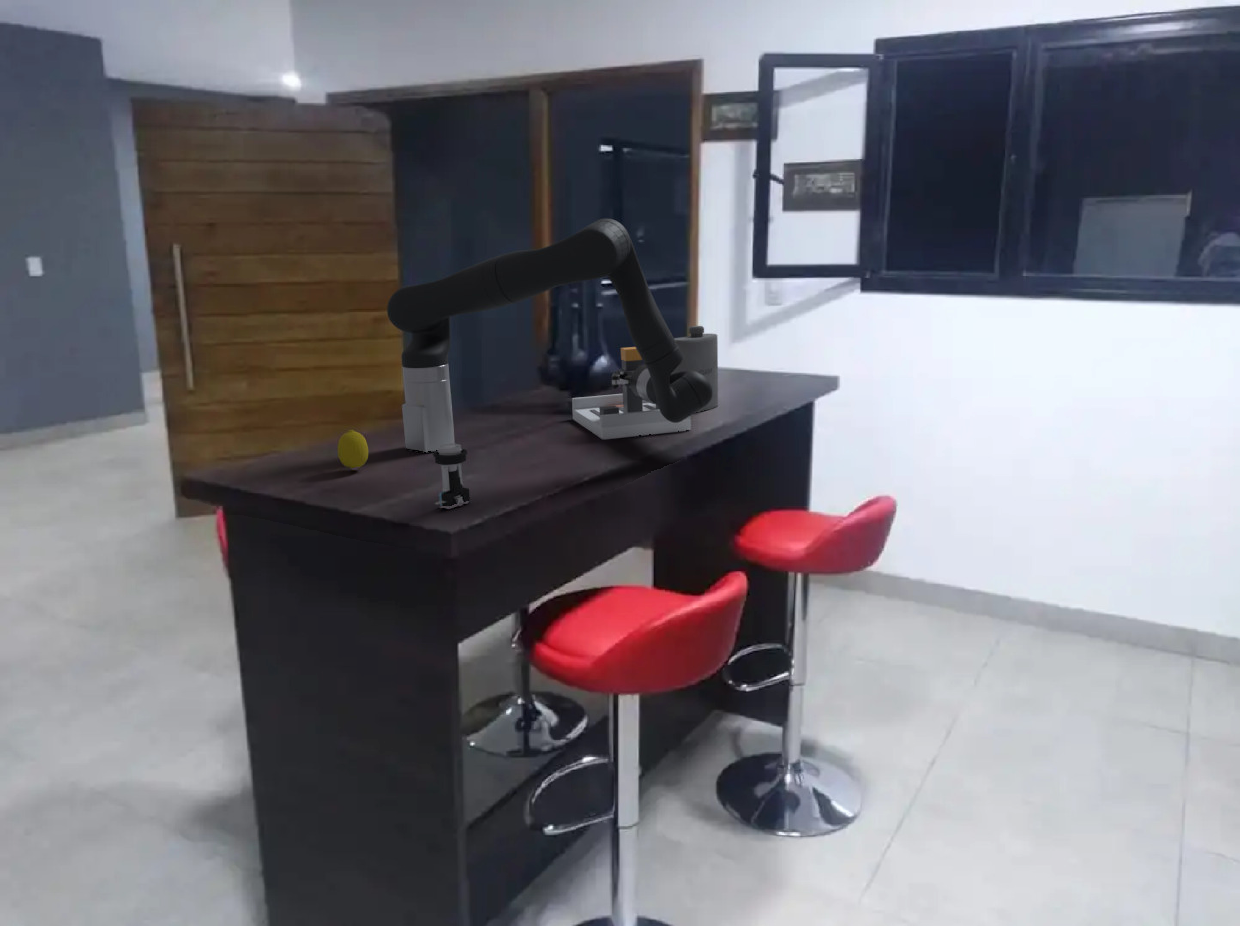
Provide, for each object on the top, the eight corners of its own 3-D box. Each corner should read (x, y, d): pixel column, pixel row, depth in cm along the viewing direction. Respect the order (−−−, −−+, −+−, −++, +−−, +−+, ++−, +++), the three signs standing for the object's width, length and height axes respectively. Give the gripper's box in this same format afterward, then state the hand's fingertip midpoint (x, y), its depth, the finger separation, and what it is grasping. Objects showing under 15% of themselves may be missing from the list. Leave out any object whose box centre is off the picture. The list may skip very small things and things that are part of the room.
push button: (448, 515, 142) (442, 453, 140) (424, 510, 145) (419, 449, 143) (478, 504, 147) (473, 444, 145) (454, 499, 150) (449, 441, 148)
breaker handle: (643, 414, 200) (641, 348, 197) (627, 415, 199) (625, 349, 196) (638, 411, 203) (636, 346, 200) (622, 413, 202) (620, 348, 199)
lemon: (345, 467, 174) (341, 427, 172) (374, 467, 174) (369, 426, 172) (336, 475, 169) (331, 433, 167) (365, 474, 169) (360, 432, 167)
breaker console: (691, 430, 196) (690, 405, 195) (602, 439, 191) (601, 413, 189) (653, 411, 219) (652, 388, 217) (572, 419, 213) (571, 396, 211)
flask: (687, 416, 212) (686, 330, 207) (668, 413, 216) (666, 328, 211) (724, 405, 223) (724, 323, 218) (705, 403, 226) (704, 322, 221)
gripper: (686, 363, 187) (656, 354, 203) (621, 369, 183) (596, 359, 199) (686, 399, 189) (657, 387, 205) (622, 405, 185) (597, 393, 201)
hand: (627, 373), depth 202 cm, fingers closed on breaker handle, 3 cm apart
